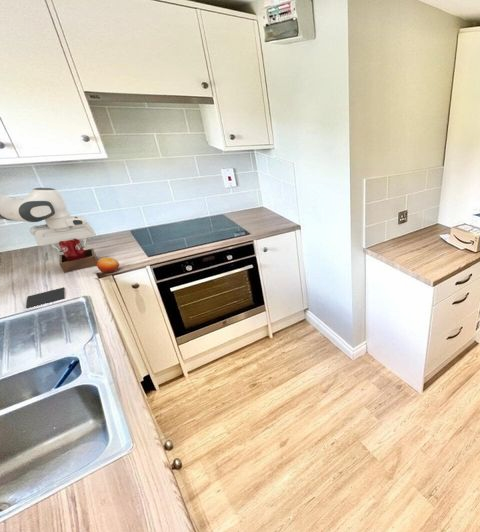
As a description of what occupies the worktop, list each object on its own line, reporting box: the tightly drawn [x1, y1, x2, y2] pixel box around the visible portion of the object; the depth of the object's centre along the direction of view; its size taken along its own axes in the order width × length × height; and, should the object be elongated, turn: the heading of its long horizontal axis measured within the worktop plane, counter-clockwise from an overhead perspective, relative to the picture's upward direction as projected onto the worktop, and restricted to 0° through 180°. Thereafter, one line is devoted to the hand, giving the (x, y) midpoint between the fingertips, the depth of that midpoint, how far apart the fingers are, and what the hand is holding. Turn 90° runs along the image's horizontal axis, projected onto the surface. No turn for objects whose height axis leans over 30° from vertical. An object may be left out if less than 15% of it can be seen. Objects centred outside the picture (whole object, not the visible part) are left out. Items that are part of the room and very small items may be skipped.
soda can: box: [58, 238, 87, 261], centre depth 156 cm, size 7×7×12 cm
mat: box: [25, 287, 66, 309], centre depth 133 cm, size 11×11×1 cm
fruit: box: [96, 256, 120, 275], centre depth 153 cm, size 8×8×8 cm
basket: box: [58, 247, 99, 274], centre depth 159 cm, size 13×13×5 cm
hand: (72, 249), depth 156 cm, fingers closed on soda can, 7 cm apart
